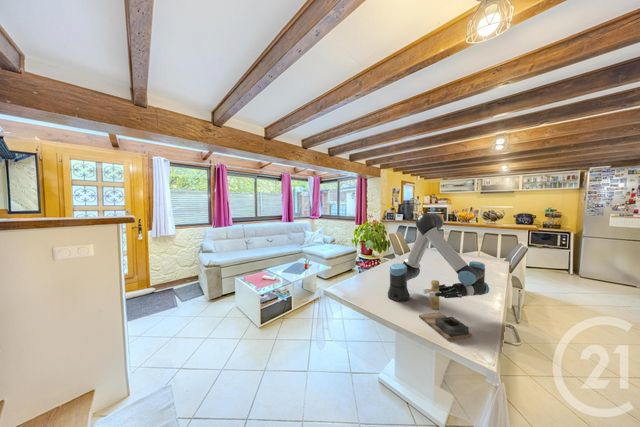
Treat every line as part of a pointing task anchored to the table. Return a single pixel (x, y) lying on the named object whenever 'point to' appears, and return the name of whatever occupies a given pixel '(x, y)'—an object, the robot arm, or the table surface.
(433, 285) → the peg
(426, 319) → the board
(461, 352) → the table surface
